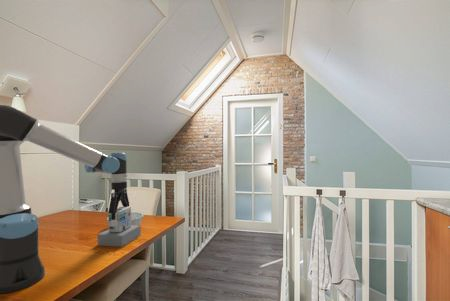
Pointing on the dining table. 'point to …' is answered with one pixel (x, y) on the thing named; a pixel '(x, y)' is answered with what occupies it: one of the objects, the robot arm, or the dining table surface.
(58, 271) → the dining table surface
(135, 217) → the serving bowl
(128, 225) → the light bulb box
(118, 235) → the grey block
